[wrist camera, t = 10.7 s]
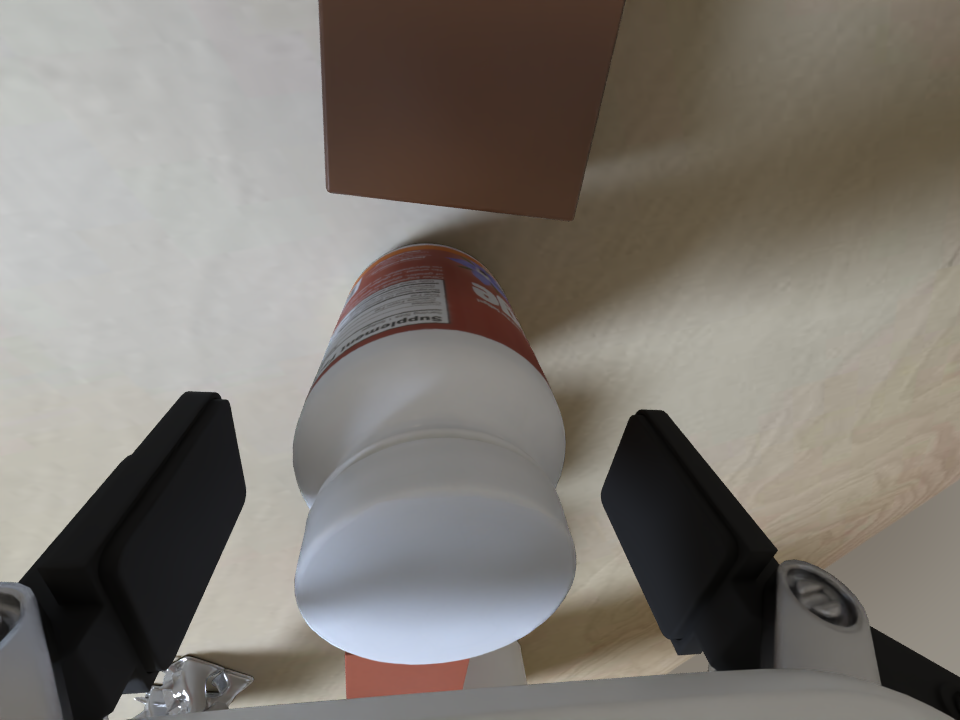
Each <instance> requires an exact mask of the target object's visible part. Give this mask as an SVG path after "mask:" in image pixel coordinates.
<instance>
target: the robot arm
mask: <svg viewBox="0 0 960 720" xmlns="http://www.w3.org/2000/svg"><path fill="white" fill-rule="evenodd" d="M245 498H246V486H245V480H244V475H243V470H242V465H241V459H240V454H239V449H238V444H237V438H236V433H235V428H234V423H233V417H232V412H231V407H230V403H229V401H228V400H223V399H221V396H220V395H219V394H218V393H216V392H192V391H188V392H185V393H184V394H183V395H182V396H181V397H180V398H179V399H178V400H177V401H176V403H175V404H174V405H173V406H172V407H171V409H170V410H169V411H168V412H167V413H166V415H165V416H164V417H163V418H162V419H161V420H160V422H159V423H158V424H157V425H156V426H155V428H154V429H153V430H152V431H151V432H150V433H149V435H148V436H147V437H146V438H145V439H144V441H143V442H142V443H141V444H140V445H139V447H138V448H137V449H136V450H135V451H134V452H133V454H132V455H129V456H127V457H126V458H125V459H124V460H123V461H122V462H121V463H120V464H119V465H118V466H117V468H116V469H115V470H114V471H113V472H112V473H111V475H110V476H109V477H108V478H107V479H106V480H105V482H104V483H103V484H102V485H101V486H100V487H99V489H98V490H97V491H96V492H95V493H94V494H93V496H92V497H91V498H90V499H89V500H88V501H87V503H86V504H85V505H84V506H83V507H82V508H81V510H80V511H79V512H78V513H77V514H76V515H75V517H74V518H73V519H72V520H71V521H70V522H69V524H68V525H67V526H66V527H65V528H64V530H63V531H62V532H61V533H60V534H59V535H58V537H57V538H56V539H55V540H54V541H53V542H52V544H51V545H50V546H49V547H48V548H47V549H46V551H45V552H44V553H43V554H42V555H41V556H40V558H39V559H38V560H37V561H36V562H35V563H34V565H33V566H32V567H31V568H30V569H29V570H28V572H27V573H26V574H25V575H24V576H23V577H22V579H21V580H20V581H19V582H18V583H14V582H0V720H109V718H108V715H109V714H110V713H112V712H113V711H114V709H115V707H116V705H117V703H118V701H119V699H120V697H121V695H122V694H131V693H146V692H150V690H151V687H152V685H153V683H154V681H155V679H156V677H157V675H158V673H159V671H166V670H167V669H168V668H169V667H170V665H171V664H172V662H173V660H174V658H175V656H176V654H177V652H178V650H179V647H180V645H181V643H182V641H183V639H184V636H185V634H186V632H187V630H188V627H189V625H190V623H191V621H192V619H193V616H194V614H195V612H196V610H197V607H198V605H199V603H200V601H201V599H202V596H203V594H204V592H205V590H206V587H207V585H208V583H209V581H210V579H211V576H212V574H213V572H214V570H215V567H216V565H217V563H218V561H219V559H220V556H221V554H222V552H223V550H224V547H225V545H226V543H227V541H228V539H229V536H230V534H231V532H232V530H233V527H234V525H235V523H236V521H237V519H238V516H239V514H240V512H241V510H242V507H243V505H244V502H245ZM601 501H602V504H603V507H604V509H605V511H606V513H607V515H608V517H609V520H610V522H611V524H612V526H613V528H614V530H615V533H616V535H617V537H618V539H619V541H620V543H621V546H622V548H623V550H624V552H625V554H626V556H627V559H628V561H629V563H630V565H631V567H632V569H633V572H634V574H635V576H636V578H637V580H638V582H639V585H640V587H641V589H642V591H643V593H644V595H645V598H646V600H647V602H648V604H649V606H650V608H651V611H652V613H653V615H654V617H655V619H656V621H657V624H658V626H659V628H660V630H661V632H662V634H663V635H664V636H665V637H666V638H667V639H670V640H671V642H672V644H673V646H674V648H675V650H676V652H677V654H678V655H690V654H701V653H702V651H703V652H704V654H705V656H706V658H707V660H708V662H709V666H708V672H695V673H680V674H666V675H652V676H638V677H625V678H611V679H597V680H583V681H569V682H556V683H543V684H530V685H517V686H504V687H491V688H478V689H466V690H453V691H440V692H428V693H415V694H402V695H390V696H378V697H366V698H354V699H342V700H330V701H318V702H306V703H294V704H282V705H270V706H258V707H246V708H235V709H226V710H216V711H206V712H196V713H186V714H176V715H166V716H156V717H146V718H136V719H128V720H960V677H958V676H957V675H955V674H953V673H951V672H950V671H948V670H946V669H944V668H943V667H941V666H939V665H937V664H936V663H934V662H932V661H930V660H929V659H927V658H925V657H923V656H922V655H920V654H918V653H916V652H915V651H913V650H911V649H909V648H908V647H906V646H904V645H902V644H901V643H899V642H897V641H895V640H894V639H892V638H890V637H888V636H886V635H885V634H883V633H881V632H880V631H878V630H876V629H874V628H873V627H871V626H870V625H869V620H868V617H867V614H866V612H865V610H864V607H863V606H862V604H861V603H860V602H859V600H858V599H857V597H856V596H855V595H854V594H853V593H852V592H851V591H850V590H849V589H848V588H847V587H846V586H845V585H844V584H843V583H842V582H840V581H839V580H838V579H837V578H835V577H834V576H833V575H831V574H830V573H828V572H826V571H825V570H823V569H821V568H819V567H818V566H815V565H813V564H810V563H808V562H805V561H799V560H787V561H784V562H783V563H781V564H780V565H779V564H778V562H777V561H776V560H775V559H774V557H773V556H774V555H775V554H776V552H777V551H778V550H777V548H776V547H775V546H774V545H773V544H772V542H771V541H770V540H769V539H768V537H767V536H766V535H765V534H764V532H763V531H762V530H761V529H760V528H759V526H758V525H757V524H756V523H755V521H754V520H753V519H752V518H751V516H750V515H749V514H748V513H747V512H746V510H745V509H744V508H743V507H742V505H741V504H740V503H739V502H738V501H737V499H736V498H735V497H734V496H733V494H732V493H731V492H730V491H729V489H728V488H727V487H726V486H725V485H724V483H723V482H722V481H721V480H720V478H719V477H718V476H717V475H716V473H715V472H714V471H713V470H712V469H711V467H710V466H709V465H708V464H707V462H706V461H705V460H704V459H703V458H702V456H701V455H700V454H699V453H698V451H697V450H696V449H695V448H694V446H693V445H692V444H691V443H690V442H689V440H688V439H687V438H686V437H685V435H684V434H683V433H682V432H681V430H680V429H679V428H678V427H677V426H676V424H675V423H674V422H673V421H672V419H671V418H670V417H669V416H668V414H667V413H665V412H664V411H662V410H639V411H638V412H636V414H635V415H632V416H631V417H630V418H629V421H628V423H627V426H626V428H625V431H624V433H623V436H622V439H621V441H620V444H619V446H618V449H617V452H616V454H615V457H614V459H613V462H612V464H611V467H610V470H609V472H608V475H607V477H606V480H605V482H604V485H603V488H602V491H601Z"/></svg>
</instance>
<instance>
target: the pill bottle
mask: <svg viewBox="0 0 960 720" xmlns="http://www.w3.org/2000/svg"><path fill="white" fill-rule="evenodd" d="M565 446H566V441H565V429H564V424H563V420H562V416H561V413H560V409H559V407H558V405H557V402H556V400H555V397H554V395H553V392H552V390H551V388H550V386H549V383H548V381H547V379H546V377H545V375H544V373H543V371H542V369H541V367H540V365H539V363H538V361H537V359H536V357H535V355H534V352H533V350H532V349H531V347H530V344H529V342H528V340H527V339H526V337H525V334H524V332H523V330H522V328H521V326H520V324H519V322H518V320H517V318H516V316H515V314H514V312H513V310H512V308H511V306H510V304H509V302H508V300H507V298H506V296H505V294H504V292H503V290H502V288H501V286H500V285H499V283H498V282H497V280H496V279H495V278H494V276H493V275H492V274H491V273H490V272H489V271H488V269H487V268H486V267H485V266H484V265H482V264H481V263H480V262H479V261H478V260H476V259H475V258H473V257H472V256H470V255H468V254H466V253H465V252H463V251H460V250H458V249H455V248H452V247H449V246H445V245H439V244H427V243H425V244H414V245H408V246H404V247H401V248H397V249H395V250H392V251H390V252H388V253H386V254H384V255H383V256H381V257H379V258H378V259H377V260H375V261H374V262H373V263H371V264H370V265H369V266H368V267H367V268H366V269H365V270H364V271H363V272H362V274H361V275H360V276H359V278H358V279H357V281H356V282H355V284H354V285H353V287H352V289H351V291H350V293H349V295H348V298H347V301H346V303H345V306H344V308H343V310H342V313H341V315H340V318H339V320H338V323H337V325H336V327H335V330H334V332H333V335H332V336H331V339H330V342H329V345H328V347H327V350H326V352H325V355H324V357H323V360H322V362H321V365H320V367H319V370H318V372H317V375H316V377H315V379H314V382H313V384H312V386H311V388H310V391H309V393H308V396H307V398H306V400H305V403H304V406H303V409H302V412H301V415H300V418H299V420H298V423H297V427H296V431H295V435H294V442H293V467H294V471H295V476H296V480H297V484H298V486H299V489H300V492H301V494H302V496H303V498H304V500H305V502H306V503H307V505H308V507H309V508H310V511H309V514H308V518H307V522H306V528H305V533H304V538H303V542H302V547H301V551H300V555H299V560H298V564H297V569H296V574H295V597H296V601H297V605H298V608H299V610H300V612H301V614H302V616H303V618H304V619H305V621H306V623H307V624H308V625H309V626H310V628H311V629H312V630H313V631H315V632H316V633H317V634H318V635H319V636H321V637H322V638H323V639H324V640H326V641H327V642H329V643H330V644H332V645H334V646H336V647H338V648H340V649H342V650H344V651H346V652H348V653H351V654H354V655H357V656H360V657H363V658H367V659H370V660H374V661H379V662H387V663H396V664H410V665H416V664H436V663H445V662H452V661H458V660H463V659H468V658H472V657H476V656H479V655H482V654H485V653H488V652H491V651H494V650H497V649H499V648H502V647H504V646H506V645H509V644H511V643H513V642H514V641H516V640H518V639H520V638H522V637H524V636H525V635H527V634H528V633H530V632H531V631H533V630H534V629H535V628H537V627H538V626H539V625H541V624H542V623H543V622H545V621H546V620H547V619H548V618H549V617H550V616H551V615H552V614H553V613H554V612H555V611H556V610H557V608H558V607H559V606H560V604H561V603H562V601H563V600H564V599H565V597H566V595H567V593H568V592H569V590H570V588H571V586H572V583H573V580H574V577H575V571H576V552H575V546H574V543H573V539H572V536H571V533H570V531H569V528H568V524H567V521H566V518H565V515H564V511H563V508H562V505H561V502H560V499H559V497H558V494H557V492H556V490H555V488H556V486H557V483H558V481H559V478H560V475H561V472H562V468H563V463H564V459H565Z"/></svg>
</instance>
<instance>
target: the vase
mask: <svg viewBox="0 0 960 720" xmlns="http://www.w3.org/2000/svg"><path fill="white" fill-rule="evenodd" d="M517 685H527V680H526V674H525V669H524V664H523V658H522V653H521V648H520V644H519V643H518V642H517V641H514V642H513V643H511V644H509V645H506V646H504V647H502V648H499V649H497V650H494V651H491V652H488V653H485V654H482V655H479V656H476V657H472V658H470V660H469V665H468V669H467V673H466V677H465V681H464V686H463V690H466V689H478V688H491V687H504V686H517Z"/></svg>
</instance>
